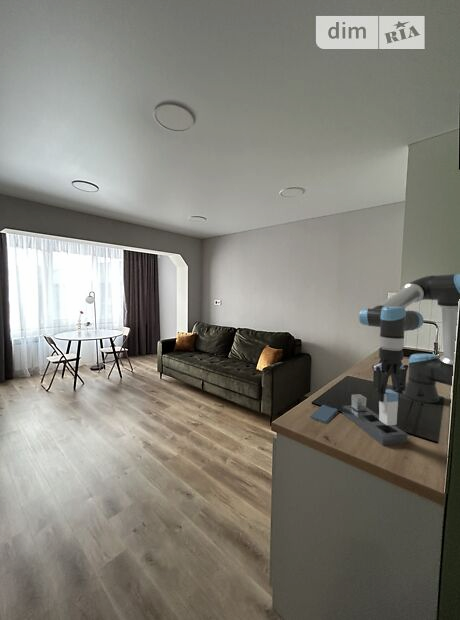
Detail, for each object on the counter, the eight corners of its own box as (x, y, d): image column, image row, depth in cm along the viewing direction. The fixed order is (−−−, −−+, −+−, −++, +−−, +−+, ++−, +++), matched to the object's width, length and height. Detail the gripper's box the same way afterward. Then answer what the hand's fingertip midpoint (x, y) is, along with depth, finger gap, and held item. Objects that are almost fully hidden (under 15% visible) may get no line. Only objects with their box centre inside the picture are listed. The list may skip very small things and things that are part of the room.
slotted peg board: (362, 411, 114) (363, 392, 114) (406, 442, 91) (408, 418, 90) (342, 413, 113) (343, 393, 112) (382, 445, 89) (383, 420, 89)
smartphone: (308, 416, 108) (322, 404, 119) (308, 420, 108) (322, 407, 120) (326, 422, 103) (338, 409, 114) (326, 426, 103) (338, 412, 114)
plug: (388, 419, 96) (389, 389, 95) (396, 424, 92) (398, 393, 91) (378, 419, 95) (380, 389, 95) (387, 425, 91) (388, 394, 91)
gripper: (402, 345, 97) (399, 403, 98) (363, 346, 94) (360, 406, 96) (420, 349, 89) (416, 412, 91) (378, 351, 87) (375, 415, 88)
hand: (388, 409), depth 93 cm, fingers closed on plug, 4 cm apart
